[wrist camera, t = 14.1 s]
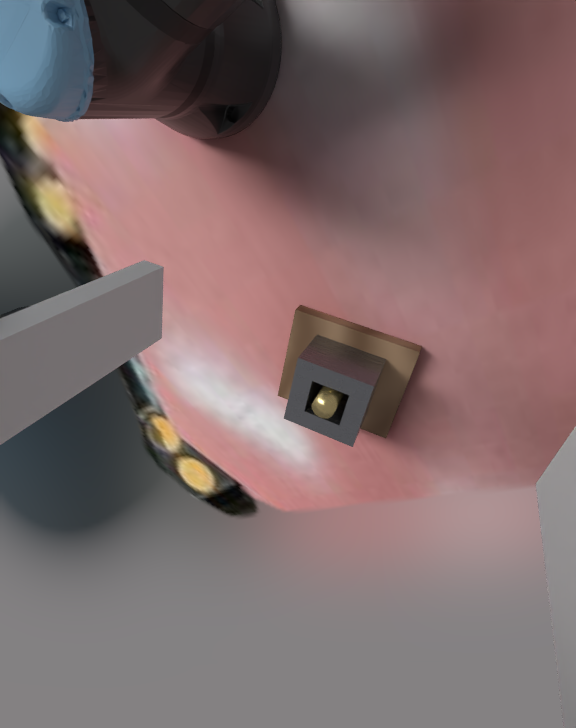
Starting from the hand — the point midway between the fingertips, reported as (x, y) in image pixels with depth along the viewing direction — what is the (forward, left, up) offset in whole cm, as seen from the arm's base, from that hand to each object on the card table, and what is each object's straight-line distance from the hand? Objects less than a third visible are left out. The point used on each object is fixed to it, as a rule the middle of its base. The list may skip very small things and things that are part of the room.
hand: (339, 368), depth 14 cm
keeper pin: (-4, -20, -31) cm, 37 cm away
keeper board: (-4, -20, -33) cm, 39 cm away
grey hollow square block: (-4, -20, -31) cm, 37 cm away
